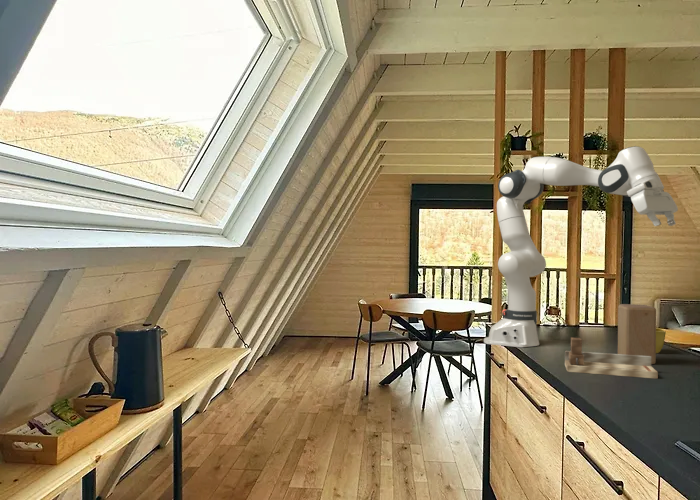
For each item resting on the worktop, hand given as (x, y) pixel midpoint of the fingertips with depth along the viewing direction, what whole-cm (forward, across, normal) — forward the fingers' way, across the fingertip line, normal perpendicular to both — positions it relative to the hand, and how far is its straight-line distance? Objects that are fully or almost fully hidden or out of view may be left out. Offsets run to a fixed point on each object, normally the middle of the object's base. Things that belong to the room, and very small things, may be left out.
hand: (665, 225), depth 173 cm
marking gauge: (+35, +27, -32) cm, 55 cm away
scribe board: (+40, +21, -26) cm, 52 cm away
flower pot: (+38, -25, -36) cm, 58 cm away
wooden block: (+40, -3, -30) cm, 50 cm away
